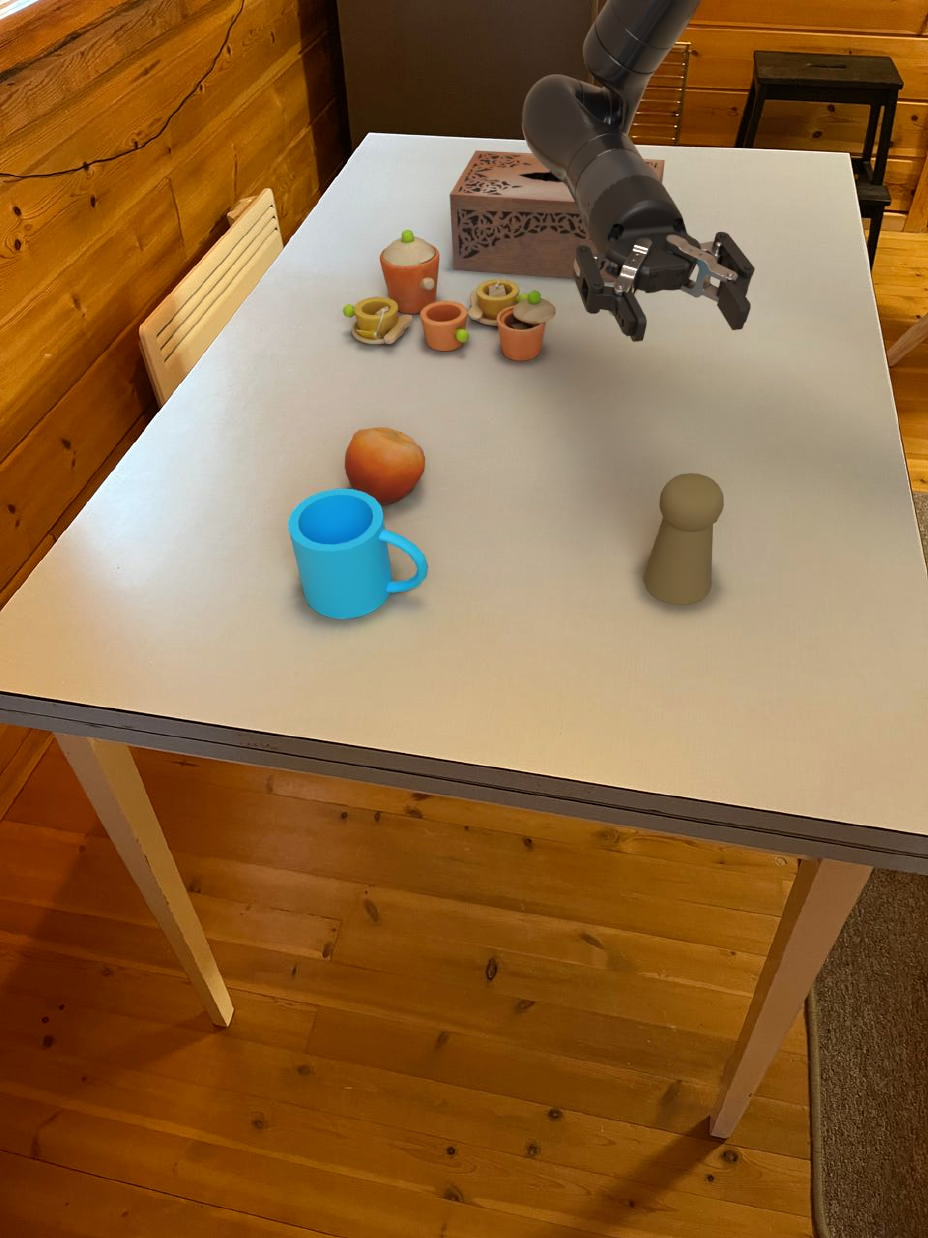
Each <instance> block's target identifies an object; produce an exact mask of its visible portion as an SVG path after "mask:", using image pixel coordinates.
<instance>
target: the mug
mask: <svg viewBox="0 0 928 1238" xmlns="http://www.w3.org/2000/svg"><path fill="white" fill-rule="evenodd" d="M287 525H288V533H289V537H290V541H291V545H292V549H293V554H294V558H295V562H296V566H297V569H298V575H299V578H300V583H301V587H302V592H303V595H304V599H305V601H306V602H307V604H308V605H309V607H310V609H312V610H314V611H315V612H317V613H318V614H319V615H321V616H324V617H327V618H331V619H341V620H349V619H354V618H355V619H356V618H359V617H363V616H366V615H369V614H370V613H372V612H374V611H376V610H377V609H378V608H380V607H382V606H383V605H384V604H385V603H386V601H387V599H388V598H389V597H390V595H391V594H396V593H404V592H409V591H411V590H413V589H415V588H418V587H419V586H420V585H421V584H422V583H423V582H424V581H425V580H426V578H427V575H428V570H429V564H428V561H427V558H426V555H425V554H424V553H423V551H422V550H421V549H420V548H419V547H418V546H417V545H416V544H415V543H414V542H412V541H411V540H409V539H408V538H406V537H405V536H402V535H400V534H399V533H396V532H394V531H392V530H388V529H386V525H385V516H384V512H383V508H382V505H380V504H379V503H378V502H377V501H376V499H375V498H373V497H372V496H370V495H368V494H366V493H365V492H361V491H357V490H353V489H352V488H334V489H328V490H323V491H319V492H316V493H314V494H311V495H309V496H307V497H306V498H305V499H303V500H302V501H300V502H299V503H298V504H297V505H296V506H295V507H294V509H293V510H292V511H291V512H290V516H289V518H288V520H287ZM388 544H389V545H392V546H394V547H396V548H398V549H399V550H401V551H402V552H403V553H405V554H407V555H408V556H409V557H410V558H411V560H412V561H413V562H414V565H415V568H416V572H415V574H414V575H413V576H412V577H410V578H408V579H404V580H398V581H394V580H393V575H392V568H391V566H392V565H391V560H390V559H391V558H390V553H389V545H388Z"/></svg>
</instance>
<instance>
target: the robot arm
mask: <svg viewBox="0 0 928 1238" xmlns="http://www.w3.org/2000/svg"><path fill="white" fill-rule="evenodd" d="M701 2H702V0H606V2H605V4H604V5H603V7H602V9H601V11H600V12H599V14H598V15H597V17H596V18H595V20H594V21H593V23H592V25H591V27H590V29H589V31H588V32H587V34H586V37H585V39H584V42H583V45H582V58H583V62H584V65H585V67H586V70H587V71H588V72H589V73H590V74H591V76H592V77H593V78H594V79H595V80H596V81H597V82H598V83H599V84H600V85H602V86H603V87H599V86H596V85H593V84H592V83H591V84H590V83H588V82H585V81H582V80H579V79H576V78H573V77H570V76H567V75H564V74H549V75H546V76H544V77H542V78H540V79H539V80H538V81H536V82H535V84H533V85H532V86H531V88H530V89H529V91H528V93H527V94H526V97H525V99H524V102H523V105H522V111H521V128H522V134H523V137H524V140H525V142H526V145H527V147H528V148H529V150H530V151H531V153H533V154H534V156H535V157H536V158H537V159H538V160H539V161H540V162H541V163H542V164H543V165H544V166H545V167H546V168H547V169H548V170H549V171H550V172H551V173H552V174H553V175H554V176H556V177H557V178H558V179H559V180H561V181H562V182H563V183H564V184H565V185H566V186H567V187H568V189H569V191H570V193H571V195H572V197H573V199H574V201H575V203H576V205H577V207H578V209H579V213H580V217H581V220H582V222H583V225H584V227H585V229H586V230H587V232H588V234H589V236H590V238H591V240H592V242H593V244H594V246H595V248H596V250H597V252H598V253H599V254H592V252H591V249H590V248H589V247H587V246H578V247H577V248H576V255H575V262H574V268H573V277H574V278H573V280H574V282H575V283H574V284H575V285H576V288H577V291H578V293H579V296H580V298H581V302H582V304H583V306H584V309H585V311H586V313H589V314H591V315H596V314H598V313H600V311H601V310H602V311H608V314H609V315H611V316H612V317H614V319H615V321H616V323H617V326H618V327H619V328H620V331H621V333H622V334H623V335H625V336H626V337H630V339H631V341H632V342H633V343H637V342H642V341H644V338H645V333H646V329H647V324H648V320H647V319H648V318H647V317H646V314H645V312H644V310H643V308H642V307H641V305H640V303H639V301H638V299H637V297H636V295H637V294H638V292H639V291H641V292H644V293H645V294H653V293H657V292H661V291H682V292H684V293H685V294H687V295H690V296H691V297H694V298H700V297H702V296H704V297H706V298H708V299H710V300H711V301H714V302H716V306H717V308H718V310H719V311H720V313H721V314H722V317H723V318H724V319H725V321H726V323H727V325H728V326H729V327H730V329H731V330H732V331H738V330H743V329H744V326H745V323H747V321H748V317H749V314H750V312H751V306H752V304H751V302H750V301H749V299H748V298H747V294H748V291H749V286H750V284H751V281H752V277H753V276H754V273H755V269H756V268H755V267H754V265H753V263H751V261H750V260H749V258H748V257H747V256H746V255H745V253H744V252H743V251H742V250H741V247H739V246H738V244H737V243H736V242H735V240H734V239H733V238H732V236H731V235H730V234H729V233H727V232H725V231H717V232H716V233H715V236H714V240H712V241H706V242H699V241H698V240H697V239H696V238H694V237H692V236H691V235H690V234H689V232H688V230H687V227H686V224H685V220H684V217H683V215H682V213H681V211H680V210H679V208H678V206H677V205H676V203H675V202H674V200H673V198H672V197H671V195H670V194H669V191H668V190H667V189H666V187H665V186H664V184H663V181H662V182H661V181H660V179H659V178H658V176H657V175H656V173H655V172H654V170H653V169H652V168H651V167H650V166H649V165H648V164H647V163H646V162H645V161H644V160H643V159H644V158H643V156H642V155H641V154H640V152H639V150H638V148H637V147H636V146H635V144H634V142H633V141H632V140H631V137H630V136H629V132H630V129H631V127H632V124H633V121H634V119H635V116H636V113H637V110H638V108H639V106H640V104H641V101H642V99H643V96H644V94H645V92H646V89H647V87H648V86H649V83H650V81H651V78H652V77H653V76H654V74H655V73H656V71H657V70H658V68H659V67H660V66H661V64H662V63H663V61H664V60H665V58H666V57H667V56H668V54H669V53H670V51H671V50H672V49H673V47H674V46H675V44H677V42H678V41H679V40H680V37H681V36H682V35H683V33H684V31H685V30H686V28H687V27H688V25H689V24H690V22H691V21H692V19H693V17H694V15H695V14H696V12H697V11H698V8H699V7H700V5H701ZM696 266H697V267H698V270H697V271H698V272H697V275H696V279H695V280H694V279H691V276H692V274H693V273H694V270H695V268H696ZM603 269H604V270H605V272H606V273H607V274H608V275H610V276H612V277H614V278H616V279H617V280H616V282H613V285H612V286H608V285H605V281H603V279H602V277H601V274H600V271H601V270H603ZM711 278H714V279H717V280H719V284H718V286H716V285H714V284H712V283H711Z"/></svg>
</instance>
